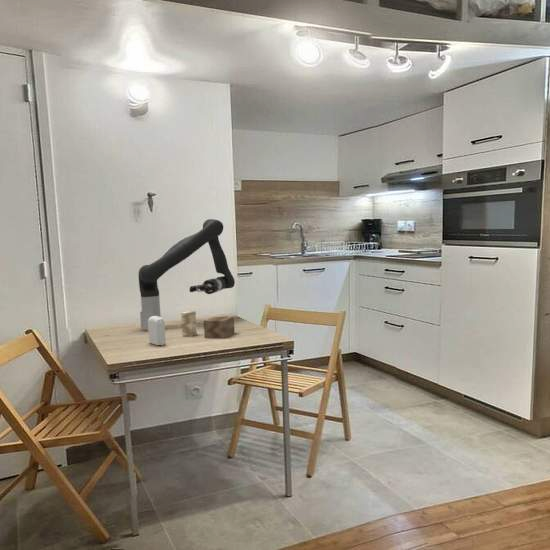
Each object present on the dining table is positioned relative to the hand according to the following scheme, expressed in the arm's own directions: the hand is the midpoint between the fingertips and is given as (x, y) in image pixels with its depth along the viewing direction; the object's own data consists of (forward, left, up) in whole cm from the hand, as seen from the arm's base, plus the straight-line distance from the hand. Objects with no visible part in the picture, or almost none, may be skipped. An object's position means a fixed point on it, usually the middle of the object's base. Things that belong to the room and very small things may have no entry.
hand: (198, 290), depth 231 cm
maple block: (0, -12, -20) cm, 23 cm away
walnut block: (+15, -11, -20) cm, 27 cm away
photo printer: (-6, -31, -20) cm, 37 cm away
